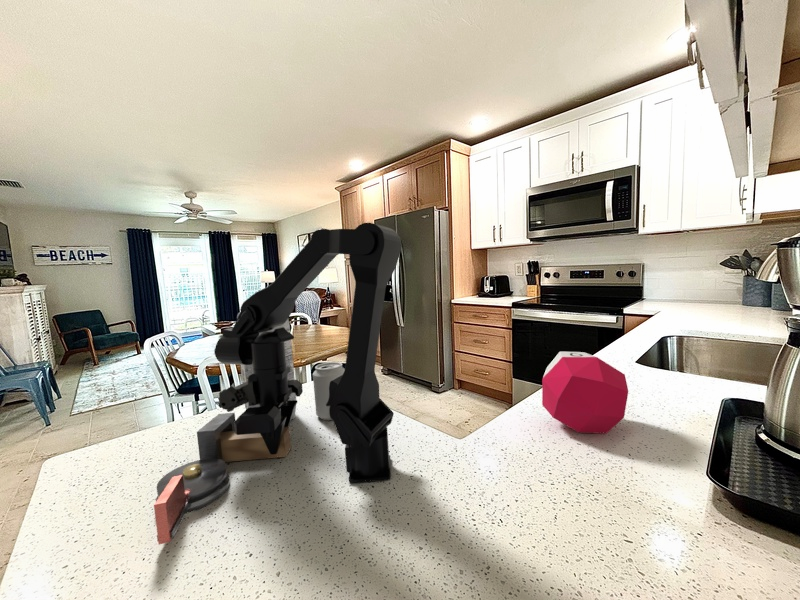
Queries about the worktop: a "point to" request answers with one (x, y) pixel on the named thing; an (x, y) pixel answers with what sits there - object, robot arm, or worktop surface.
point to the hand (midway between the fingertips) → (277, 448)
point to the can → (325, 386)
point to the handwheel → (185, 493)
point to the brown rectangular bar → (251, 446)
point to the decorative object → (584, 392)
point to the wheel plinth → (208, 497)
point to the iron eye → (214, 435)
